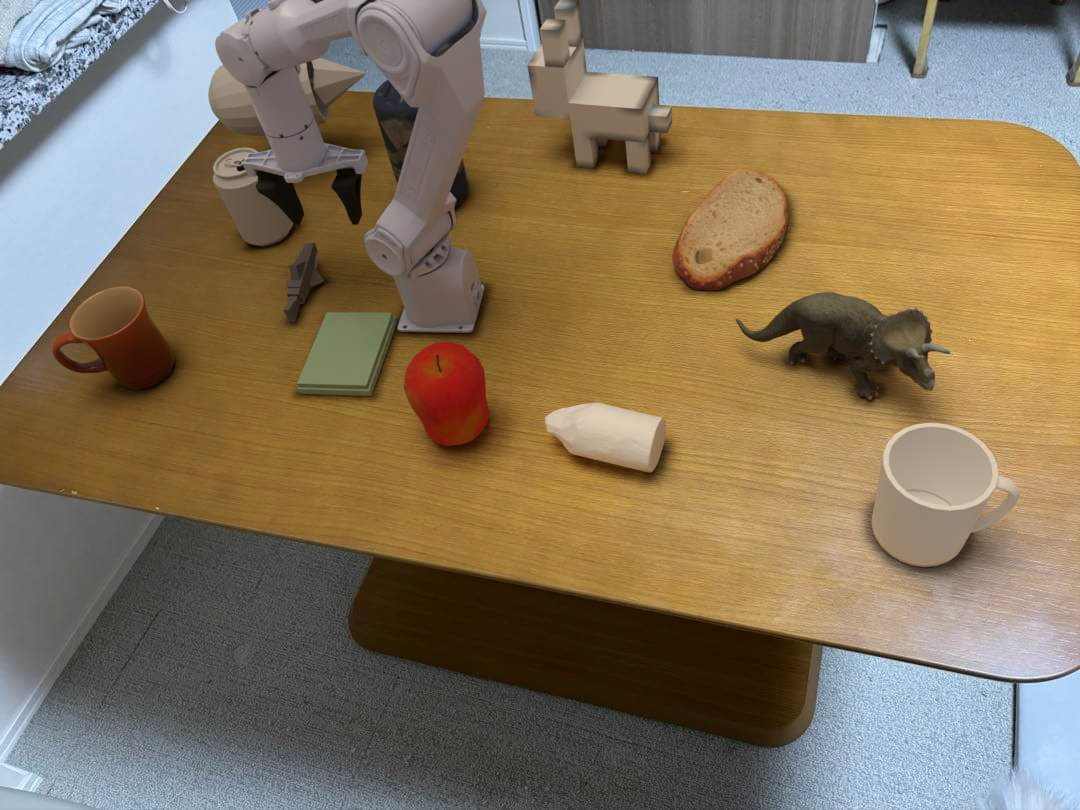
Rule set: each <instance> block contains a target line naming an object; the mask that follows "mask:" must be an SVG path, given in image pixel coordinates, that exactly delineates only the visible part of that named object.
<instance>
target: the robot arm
mask: <svg viewBox="0 0 1080 810" xmlns="http://www.w3.org/2000/svg"><path fill="white" fill-rule="evenodd" d="M266 5H267V8H259V7H253V8H251V9H249V10H248V11H246V12H245V14H244V17H242V18H241V19H238V21H236V22H235V23H233V24H232V25H230V26H229V27H228V28H226V29H225V30H222V31H221V32H220V33H219V35H217V37H216V38H215V40H214V41H215V42H214V45H215V51H216V55H217V56H218V58H219V61H220V62H221V64H222V65H224V67H225V68H226V70H227V71H228V72H229V73H230V74H231V75H232V76H233V77H234V78H235V79H236V80H237V81H239V82H240V83H242V84H244V87H245V89H246V91H247V94H248V96H249V98H250V100H251V103H252V105H253V107H254V110H255V112H256V114H257V117H258V119H259V121H260V123H261V126H262V128H263V130H264V132H265V135H266V136H265V137H266V139H267V141H268V143H269V146H270V148H271V149H267V150H264V151H258V152H257V153H248V155H247V156H246V158H245V160H244V161H243V163H242V164H243V166H244V168H245V170H246V172H247V174H248V176H249V177H255V176H258V178H257V179H258V182H257V184H256V189H257V191H258V193H260V194H262V195H264V196H265V197H267V198H268V199H270V200H271V201H272V202H274V203H275V204H276V205H277V206H278V207H279V208H280V209H281V210H282V211H283V212H284V213H285V214H286V215H287V216H288V218H289V219H290V220H291V221H292V222H293V225H294V226H300V225H301V223H302V221H303V220H304V216H305V210H304V208H303V204H302V202H301V200H300V197H299V195H298V193H297V191H296V188H295V184H298V183H301V182H303V181H304V179H305V178H307V177H311V176H312V177H313V176H316V175H320V174H324V173H328V172H336V175H335V177H334V179H333V181H332V183H331V185H330V187H331V189H332V190H333V192H335V194H336V195H337V196H338V198H339V200H340V201H341V203H342V204H343V207H344V208H345V212H346V214H347V217H348V219H349V221H350V223H351V225H353V226H357V225H359V224H360V222H361V219H362V218H363V209H362V201H361V199H362V198H361V193H362V192H361V189H362V180H363V179H362V178H363V175H364V174H365V173H366V171H367V169H368V166H369V160H368V157H367V155H366V151H365V150H364V149H354V148H353V149H352V148H348V147H343V146H339V145H335V144H331V143H326V142H325V141H324V140H323V136H322V134H321V132H320V128H319V125H317V123H316V121H315V118H314V115H313V113H312V110H311V107H310V105H309V102H308V100H307V97H306V94H305V92H304V89H303V87H302V84H301V81H300V79H299V74H300V70H301V67H300V64H303V63H306V62H309V61H312V60H315V59H318V58H322V57H323V56H324V55H325V54H326V53H327V51H328V50H329V47H330V44H331V42H333V41H338V40H341V39H342V40H343V39H346V38H350V37H352V39H353V40H354V42H355V44H356V47H357V49H358V50H359V51H360V53H361V55H362V56H364V57H368V58H369V59H370V60H371V62H372V63H373V64H374V65H375V66H376V67H377V68H378V70H380V72H381V73H382V75H383V76H384V77H385V78H386V80H389V82H390V83H391V84H392V85H393V86H394V88H395V89H396V90H397V91H398V93H399V94H400V95H401V96H402V97H403V99H404V100H405V101H406V102H407V104H408V105H409V106H410V107H418V108H419V109H418V112H417V116H416V120H415V123H414V127H413V130H412V134H411V138H410V141H409V145H408V148H407V152H406V156H405V159H404V163H403V166H402V170H401V174H400V177H399V181H398V184H397V185H396V188H395V192H394V196H393V198H392V200H391V201H390V203H389V204H388V205H387V207H386V208H385V210H384V211H383V213H382V214H381V215H380V217H379V218H378V219H377V221H376V223H375V226H374V227H373V228H371V229H369V230H368V231H367V232H366V233H365V234H364V237H363V243H364V248H365V251H366V253H367V256H368V257H369V258H370V260H371V261H372V263H373V264H374V265H375V266H376V267H377V268H378V269H380V270H381V271H382V272H383V273H385V274H387V275H389V276H392V277H393V280H394V283H395V286H396V289H397V292H398V294H399V297H400V300H401V302H402V305H403V310H402V313H401V315H400V318H399V321H398V323H397V326H396V328H397V331H398V332H399V333H451V334H453V333H455V334H456V333H457V334H458V333H459V334H470V333H472V332H473V331H474V328H475V325H476V321H477V318H478V314H479V311H480V307H481V304H482V299H483V296H484V293H485V286H484V285H483V284H482V282H481V277H480V274H479V271H478V266H477V263H476V259H475V256H474V253H473V251H472V250H471V249H466V248H460V247H456V246H454V245H452V244H451V242H452V241H453V240H452V237H451V236H452V235H451V232H452V230H454V229H455V226H456V225H457V217H456V212H455V207H456V206H455V203H456V198H455V197H454V196H453V195H452V194H451V192H450V190H451V187H452V184H453V181H454V179H455V176H456V173H457V171H458V168H459V165H460V163H461V160H462V157H463V158H464V154H465V152H466V149H467V146H468V144H469V141H470V139H471V136H472V133H473V130H474V127H475V125H476V122H477V119H478V116H479V114H480V111H481V109H482V107H483V104H484V100H485V96H486V95H485V80H484V71H483V60H482V49H481V33H482V31H483V30H482V29H483V26H484V23H485V20H486V16H487V9H486V7H485V5H484V3H483V1H482V0H321V1H319V2H317V3H315V2H314V1H313V0H269V1H268V2H266ZM454 206H455V207H454Z"/></svg>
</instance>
